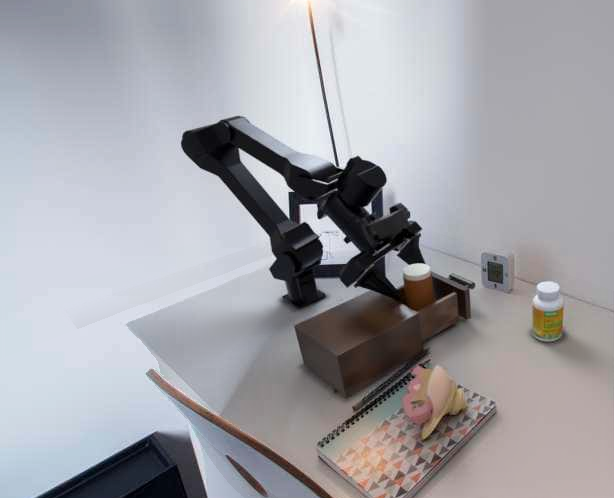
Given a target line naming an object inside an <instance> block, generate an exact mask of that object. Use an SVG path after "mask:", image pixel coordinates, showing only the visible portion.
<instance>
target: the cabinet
mask: <svg viewBox="0 0 614 498" xmlns="http://www.w3.org/2000/svg"><path fill="white" fill-rule="evenodd" d="M293 327H294V333H295V335H296V336H295V337H296V339H297V344H298V347H299V351H300V356H301V358H302V359H301V360H302V362H303V366H304V367H305V368H307V369H308V370H309V371H310V372H311V373H313V374H314V375H315V376H317V377H318V378H319V379H321V380H322V381H323V382H325V383H326V385H328V386H329V387H331V388H332V389H334V391H336V392H337V393H339V394H340V395H341V396H342V397H344V398H345V399H348V398H350V397H351V396H353V395H355V394H356V393H358V392H360V391H362V390H363V389H365V388H367V387H368V386H370V385H371V384H373V383H375V382H377V381H378V380H380V379H382V378H384V377H385V376H386V375H388V374H390V373H392V372H393V371H395V370H397V369H399V368H400V367H402V366H404V365H405V364H407V363H409V362H411V361H412V360H413V359H415V358H417V357H419V356H421V355H422V354H424V353H425V351H424V350H425V349H424V341H422V333H421V325H420V317H419V313H418V312H416V311H414V310H413V309H411V308H409V307H407V306H405V305H403V304H401V303H399V302H398V301H396V300H394V299H392V298H390V297H387V296H385V295H382V294H380V293H377V292H375V291H372V290H368V291H366V292H364V293H361V294H360V295H356V296H354V297H353V298H351V299H348V300H347V301H344V302H342V303H340V304H338V305H336V306H333V307H331V308H329V309H327V310H324V311H322V312H320V313H318V314H316V315H314V316H311V317H309V318H307V319H305V320H302V321H301V322H298V323H296V324H295V325H293Z"/></svg>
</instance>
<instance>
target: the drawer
mask: <svg viewBox="0 0 614 498" xmlns="http://www.w3.org/2000/svg"><path fill="white" fill-rule="evenodd" d="M431 273H432V283H433V292H434V303H432V304H430V305H428V306H426V307H425V308H423V309H421V310H419V311H417V312H418V313H419V317H420V325H421V333H422V341H423V342H424V341H426V340H428V339H430V338H431V337H433V336H434V335H436V334H438V333H440V332H441V331H443V330H445V329H447V328H448V327H450V326H452V325H454V324H456V323H457V322H459V320H460V318H461V319H463V320H465V321H468V320H470V319H471V318H472V307H471V306H472V305H471V291H470V290H474V289H475V288H476V283H475V282H474V281H472V280H470V279H467V278H465V277H463V276H460V275H458V274H455V273H454V272H451V273H449V275H448V277H446V276H442V275H441V274H439V273H436V272H435V271H432V270H431ZM395 288H396V289H397V290H398V292H399V293H400V295H401V296H402V299H401V300H399V301H398V302H399V303H401V304H403V305H405V306H407V303H406V296H405V288H404V284H402V285H400V286H398V287H395ZM396 301H397V300H396ZM459 317H460V318H459Z"/></svg>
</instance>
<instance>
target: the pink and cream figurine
mask: <svg viewBox="0 0 614 498" xmlns="http://www.w3.org/2000/svg"><path fill="white" fill-rule="evenodd" d="M410 376H413V377H414V378H413V379H411V380H409V381H408V384H407V387H406V392H407V393H406V394H403V395H402V397H401V403H402V409H403V410H402V411H403V412H404V415H405V418H406V419H407V420H408V421H409V422H413V423H414V424H415V425H422V424H424V425H423V427H422V430H421V440H425V439H427V438H428V437H429V436H430V435H431V434H432V433H433V431H434V430H435V428H436V426H438V424H439V423H440V421H441V420H442V418H443V417H444V416H445V415H447V414H449V415H450V416H453V415H454V416H456V415H457V414H458V413H459V412H460V410H465V409H466V408H467V407H468V405H469V403H468V401H467V400H466V399H465V391H464V390H463V389H462V388H458V386H457V382H456V380H454V381H453V379H452V378H450V377H449V375H448V373H447V372H446V371H445V369H444V368H443V367H442V366H440V365H438V364H436V366H435V367H434V368H423V367H421V366H420V364H417V365H416V367H415V368H413V370H412V371H411V372H410ZM412 404H416V405H418V406H416V407H414V408H412V407H413V405H412Z"/></svg>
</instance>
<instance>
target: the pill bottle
mask: <svg viewBox="0 0 614 498" xmlns="http://www.w3.org/2000/svg"><path fill="white" fill-rule="evenodd" d="M431 271H432V269H431V266H430V265H428V264H427V263H426V264H422V263H416V264H411V265H408V264H407V266H405V267H404V268H403V269H402V279H403V285H404V288H405V296H406V303H407V307H409V308H411V309H413V310H414V311H416V312H417V311H419V310H421V309H423V308H425V307H426V306H428V305H430V304H432V303H434V292H433V283H432V273H431Z"/></svg>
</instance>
